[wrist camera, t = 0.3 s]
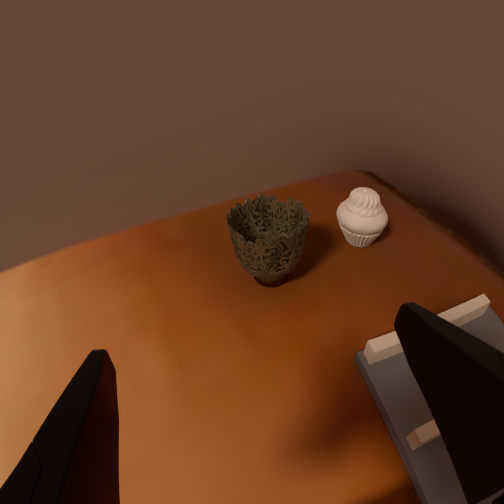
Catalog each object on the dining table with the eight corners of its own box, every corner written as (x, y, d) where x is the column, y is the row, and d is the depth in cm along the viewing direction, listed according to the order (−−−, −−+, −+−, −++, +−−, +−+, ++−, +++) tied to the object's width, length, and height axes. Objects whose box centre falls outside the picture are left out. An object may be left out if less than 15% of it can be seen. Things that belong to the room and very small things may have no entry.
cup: (316, 265, 35) (320, 201, 30) (288, 313, 30) (289, 246, 25) (256, 248, 38) (251, 187, 33) (222, 289, 33) (210, 225, 28)
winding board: (576, 464, 10) (596, 452, 9) (451, 579, 8) (471, 580, 6) (479, 307, 27) (490, 287, 25) (354, 359, 25) (360, 339, 23)
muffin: (347, 219, 41) (352, 171, 37) (389, 235, 38) (399, 186, 33) (325, 243, 38) (328, 191, 33) (371, 262, 34) (381, 209, 30)
